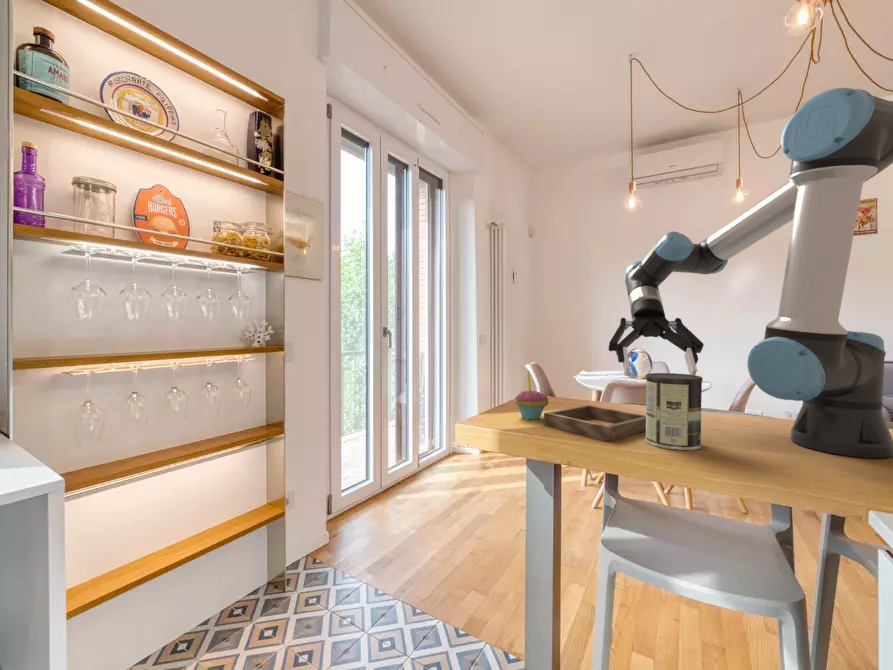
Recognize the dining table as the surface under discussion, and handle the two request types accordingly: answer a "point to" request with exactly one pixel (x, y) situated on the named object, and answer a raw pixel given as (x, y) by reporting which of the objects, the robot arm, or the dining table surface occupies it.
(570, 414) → the dark brown wooden tray
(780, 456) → the dining table surface
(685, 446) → the coffee can
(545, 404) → the cupcake
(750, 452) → the dining table surface
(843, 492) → the dining table surface
